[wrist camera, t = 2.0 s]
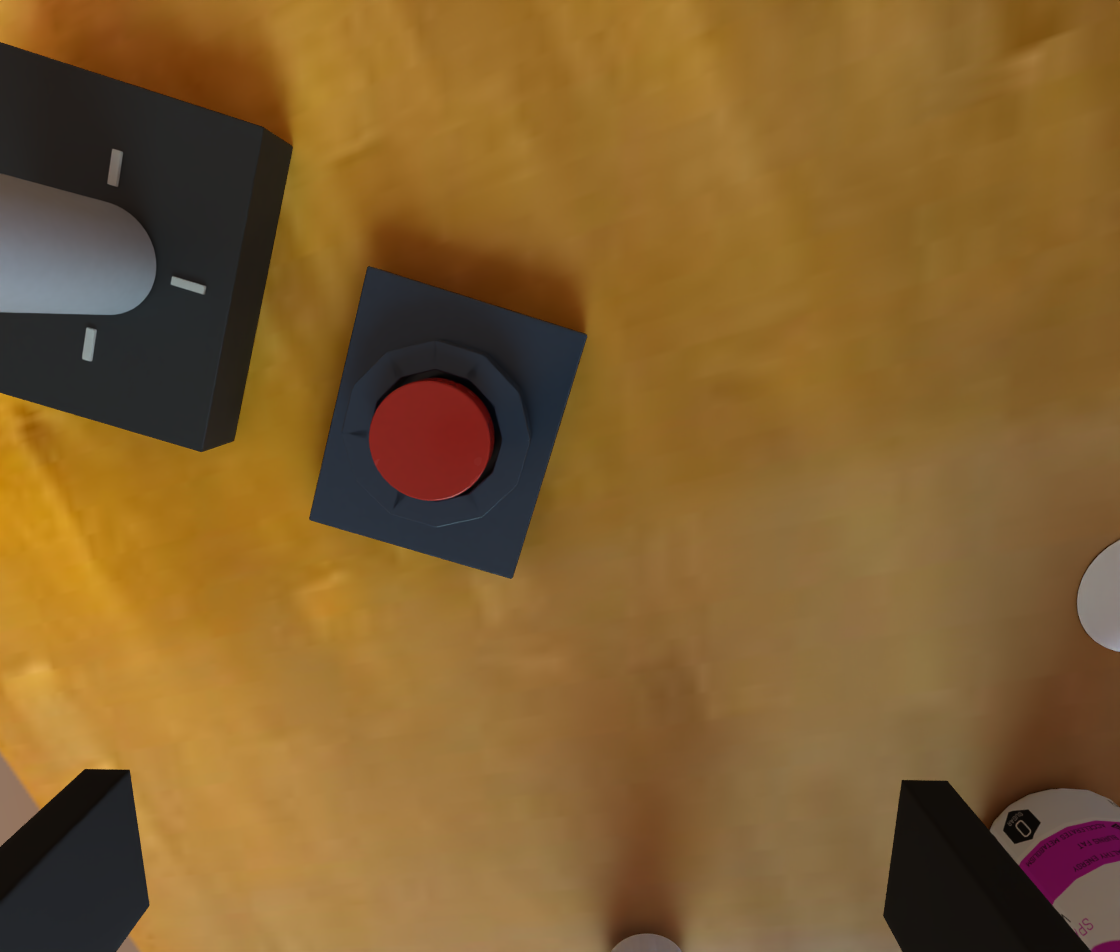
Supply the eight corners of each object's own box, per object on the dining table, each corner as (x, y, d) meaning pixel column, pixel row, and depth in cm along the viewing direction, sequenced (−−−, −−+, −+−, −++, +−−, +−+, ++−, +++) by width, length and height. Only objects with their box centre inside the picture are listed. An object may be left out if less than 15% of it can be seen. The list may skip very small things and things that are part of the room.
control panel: (49, 67, 29) (-13, 37, 26) (293, 146, 30) (262, 125, 27) (11, 375, 32) (-48, 380, 29) (234, 441, 33) (200, 453, 30)
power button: (395, 362, 28) (384, 365, 27) (508, 397, 29) (504, 401, 27) (368, 472, 29) (355, 481, 28) (477, 505, 30) (471, 516, 28)
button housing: (381, 269, 31) (354, 261, 27) (586, 334, 32) (589, 335, 28) (324, 508, 34) (292, 531, 30) (515, 563, 34) (508, 594, 30)
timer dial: (55, 312, 29) (-148, 307, 21) (40, 198, 28) (-179, 145, 20) (161, 316, 29) (1, 313, 20) (151, 202, 28) (-23, 150, 19)
